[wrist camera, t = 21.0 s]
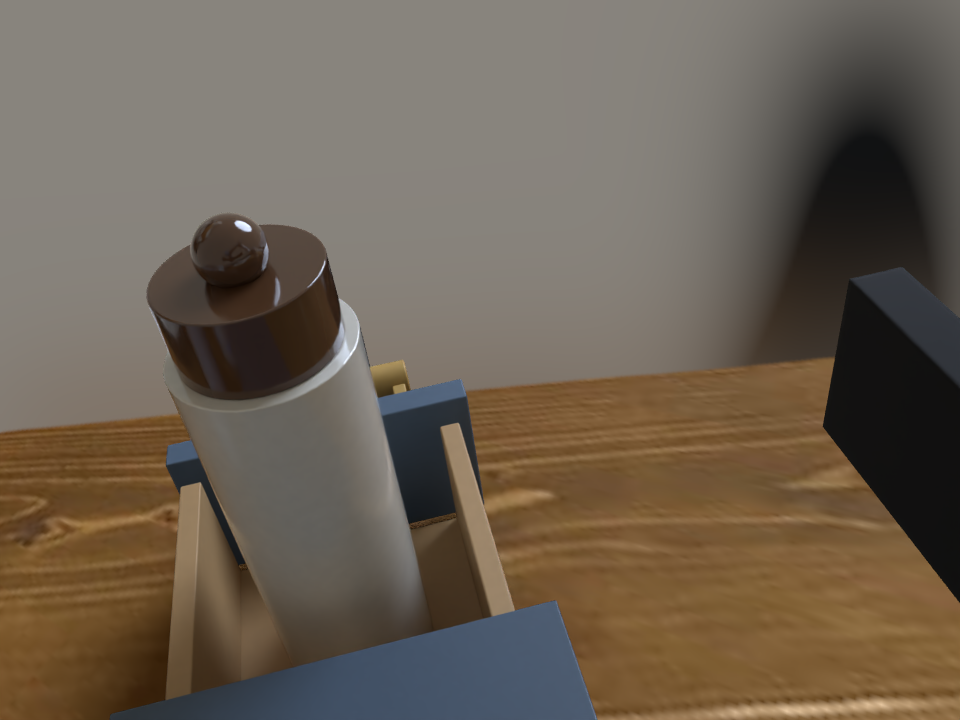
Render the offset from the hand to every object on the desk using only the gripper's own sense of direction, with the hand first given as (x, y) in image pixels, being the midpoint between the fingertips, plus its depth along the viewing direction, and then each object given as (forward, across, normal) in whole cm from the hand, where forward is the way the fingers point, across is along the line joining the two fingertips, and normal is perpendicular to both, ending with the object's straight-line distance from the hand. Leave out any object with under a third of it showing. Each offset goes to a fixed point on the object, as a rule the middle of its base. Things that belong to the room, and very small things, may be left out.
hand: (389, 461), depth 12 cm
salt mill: (+12, -3, -21) cm, 24 cm away
